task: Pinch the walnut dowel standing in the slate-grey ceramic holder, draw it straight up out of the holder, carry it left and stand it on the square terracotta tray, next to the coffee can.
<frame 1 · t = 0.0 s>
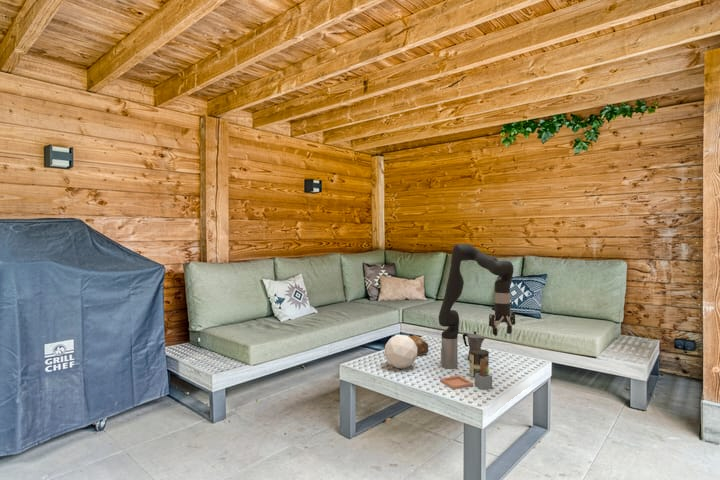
hand: (502, 334, 203), 29 cm above the table, tool pointing down, fingers open, 8 cm apart
geometric orb: (401, 367, 245), on the table
dowel: (483, 387, 211), point 1 cm above the table, touching holder
petrified wood: (415, 352, 275), on the table
coffee can: (479, 377, 228), on the table
coffeepot: (473, 360, 258), on the table
tray: (456, 385, 215), on the table
holder: (483, 388, 211), on the table
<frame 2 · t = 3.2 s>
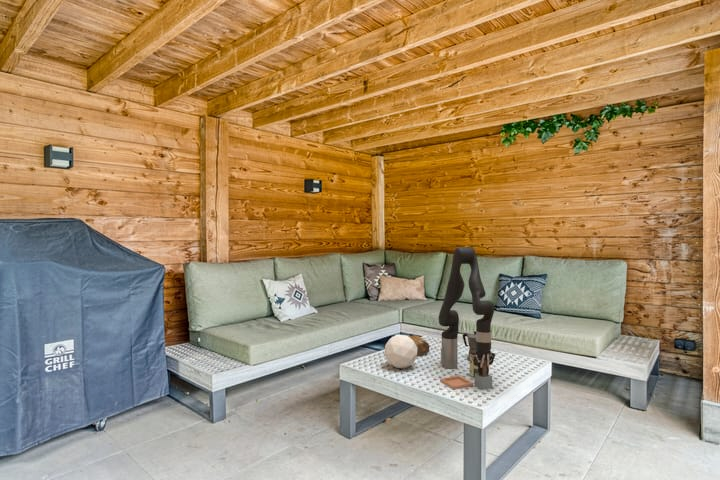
hand: (483, 373, 211), 8 cm above the table, tool pointing down, fingers closed on dowel, 3 cm apart
dowel: (483, 387, 211), point 1 cm above the table, touching gripper, holder
everything else where it was.
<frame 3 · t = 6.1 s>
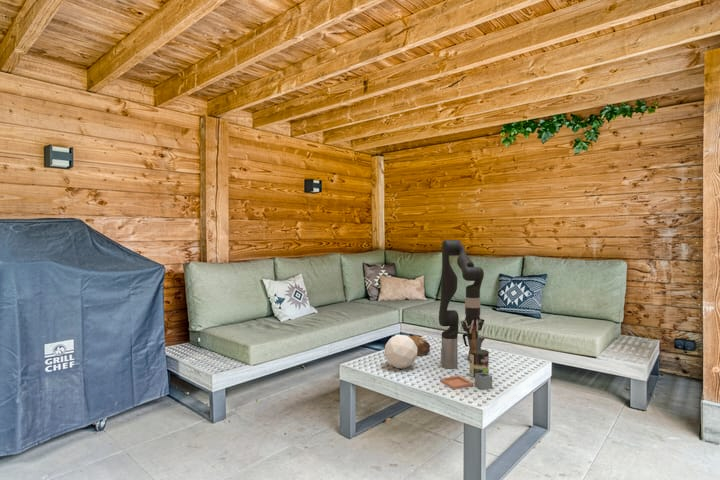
hand: (472, 339, 212), 25 cm above the table, tool pointing down, fingers closed on dowel, 3 cm apart
dowel: (472, 352, 213), point 18 cm above the table, touching gripper
everything else where it was.
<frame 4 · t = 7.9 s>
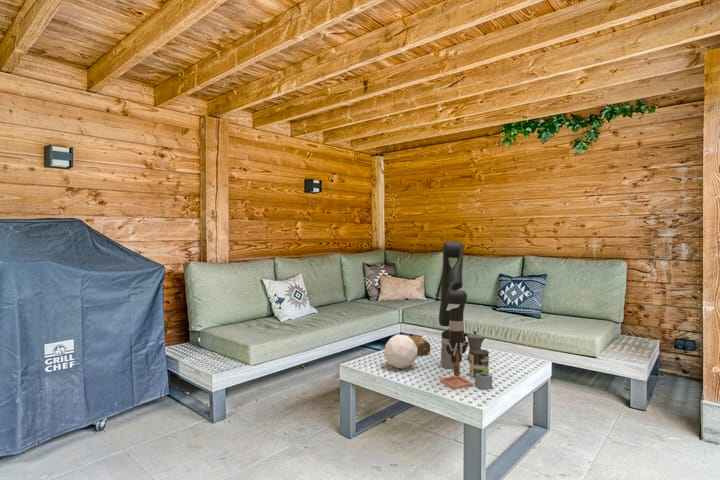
hand: (456, 361, 215), 12 cm above the table, tool pointing down, fingers closed on dowel, 3 cm apart
dowel: (456, 375, 215), point 5 cm above the table, touching gripper
everything else where it was.
when the fingers open (8 cm above the table, at t = 9.3 s): dowel stays where it is, resting on tray.
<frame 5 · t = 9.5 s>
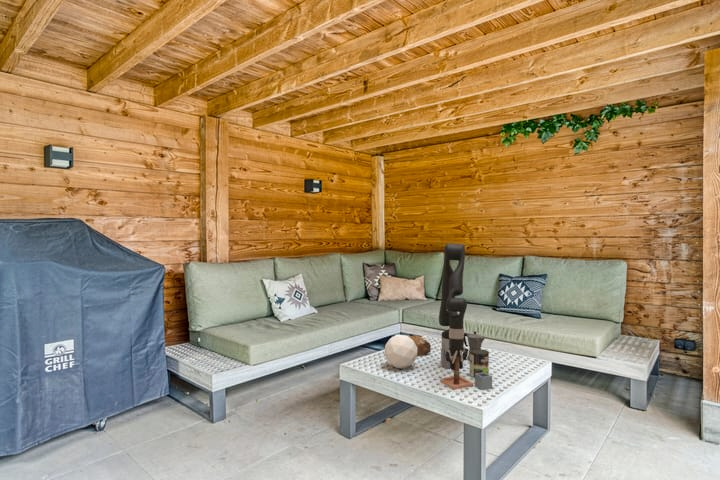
hand: (456, 369, 215), 8 cm above the table, tool pointing down, fingers open, 4 cm apart
dowel: (456, 383, 215), point 1 cm above the table, touching tray
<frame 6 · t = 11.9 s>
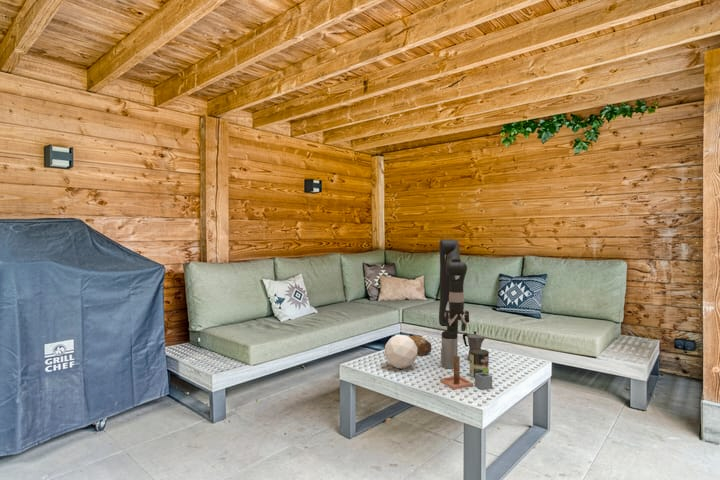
hand: (456, 331, 215), 28 cm above the table, tool pointing down, fingers open, 8 cm apart
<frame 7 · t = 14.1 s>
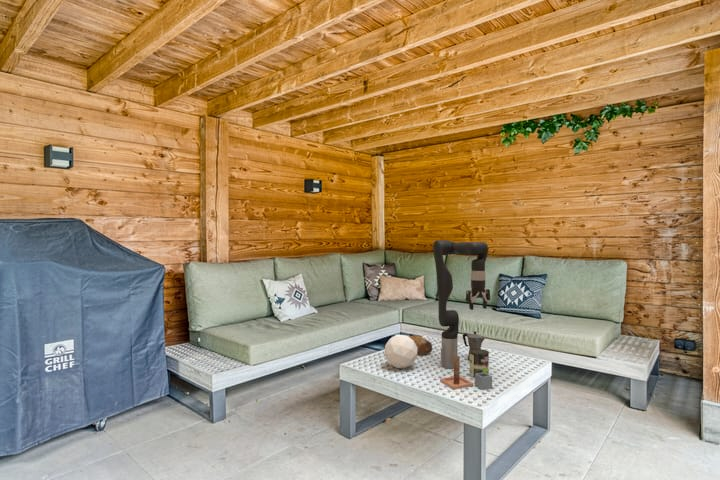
hand: (478, 309, 223), 38 cm above the table, tool pointing down, fingers open, 8 cm apart
at the end: dowel inside the target area on the tray (0.1 cm from its centre), point 1.0 cm above the tray's base; dowel tilted 0°; the gripper is holding nothing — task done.
